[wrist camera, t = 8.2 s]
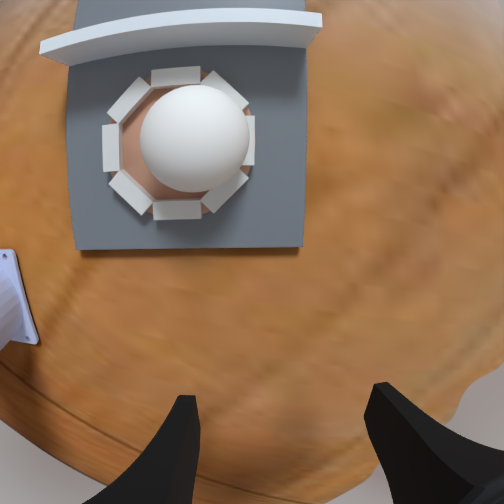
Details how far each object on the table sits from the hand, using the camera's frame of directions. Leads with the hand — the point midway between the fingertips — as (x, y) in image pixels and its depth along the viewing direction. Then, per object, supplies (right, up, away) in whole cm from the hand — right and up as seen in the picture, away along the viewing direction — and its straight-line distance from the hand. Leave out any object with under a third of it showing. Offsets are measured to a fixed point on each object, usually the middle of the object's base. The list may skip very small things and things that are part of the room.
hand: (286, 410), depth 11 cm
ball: (-4, +11, +2) cm, 12 cm away
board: (-5, +18, +4) cm, 19 cm away
